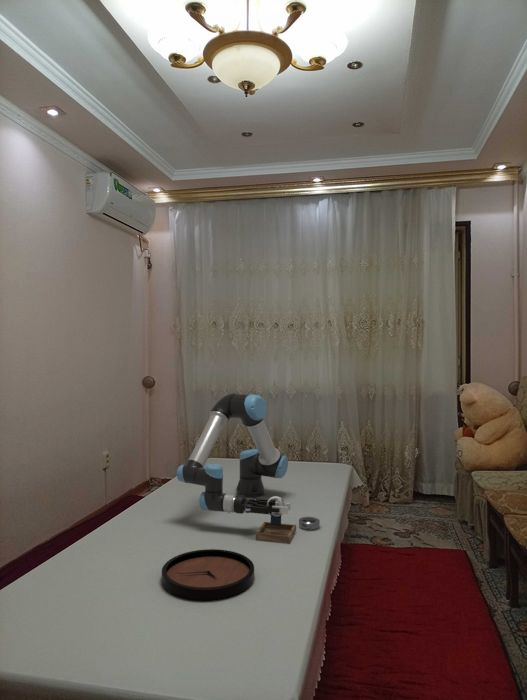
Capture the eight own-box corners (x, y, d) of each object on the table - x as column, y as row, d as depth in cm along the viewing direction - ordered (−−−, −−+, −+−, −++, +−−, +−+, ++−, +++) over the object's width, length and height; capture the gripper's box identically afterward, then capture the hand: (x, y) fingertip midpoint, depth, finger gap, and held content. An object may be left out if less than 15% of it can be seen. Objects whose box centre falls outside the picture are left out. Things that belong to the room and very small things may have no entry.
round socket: (303, 522, 231) (303, 515, 231) (322, 525, 227) (322, 518, 227) (295, 528, 223) (295, 521, 223) (315, 532, 219) (315, 525, 219)
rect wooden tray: (264, 528, 223) (264, 521, 223) (296, 531, 220) (296, 524, 220) (255, 540, 210) (255, 533, 210) (289, 543, 206) (289, 536, 206)
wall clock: (267, 556, 185) (232, 596, 156) (267, 567, 185) (232, 610, 156) (189, 544, 196) (143, 579, 166) (189, 554, 196) (143, 592, 166)
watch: (285, 525, 211) (286, 499, 211) (266, 525, 212) (266, 499, 211) (285, 520, 217) (286, 495, 216) (266, 520, 217) (267, 494, 217)
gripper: (241, 506, 228) (293, 511, 222) (228, 519, 210) (284, 524, 205) (241, 489, 228) (293, 493, 222) (228, 500, 210) (284, 506, 205)
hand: (289, 508), depth 213 cm, fingers closed on watch, 5 cm apart
